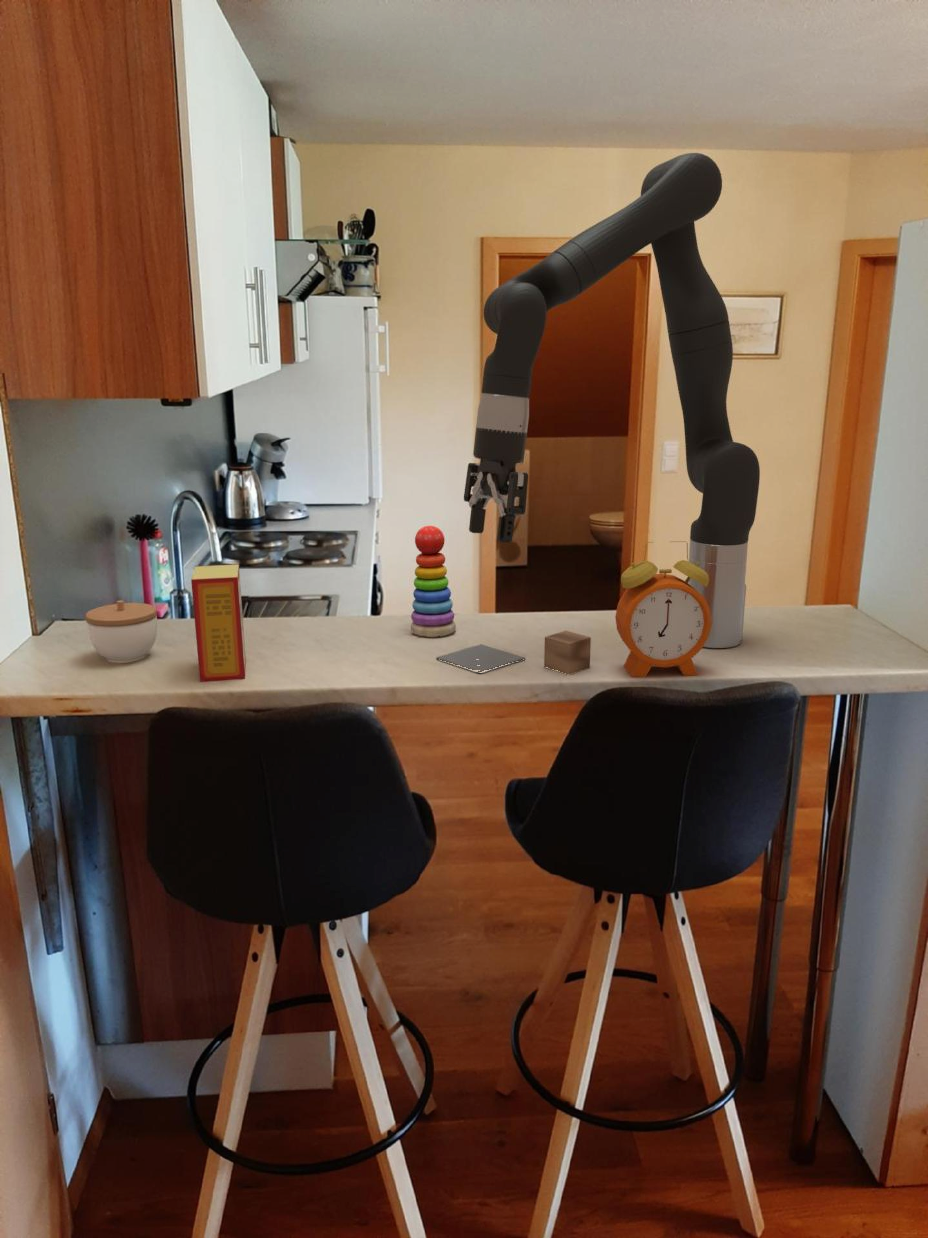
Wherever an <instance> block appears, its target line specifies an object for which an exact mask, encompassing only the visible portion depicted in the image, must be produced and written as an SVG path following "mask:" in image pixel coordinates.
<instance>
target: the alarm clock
mask: <svg viewBox="0 0 928 1238" xmlns="http://www.w3.org/2000/svg"><path fill="white" fill-rule="evenodd" d="M648 543H653V541H647V542H646V543H645V547H644V548H645V549H644V558H643V560H642V561H638V562H635V563H634V562H632V563H630V566H628V568H626V570H624V571H623V573H622V574H621V578H620V581H621V582H620V583H621V586H622V588H623V589H625V591H623V593H622V596H621V597H620V599H619V601H618V603H617V607H616V611H615V616H614V617H615V625H616V630H617V632H618V634H619V637H620V639H621V641H622V642H623V644H624V645H625V646H626V647H627V648H628V650H629V654H628V656H627V658H626V659H625V662H624V664H623V667H624V668H625V670H626V671H627V672H628V674H629V675H630V676H631V677H632V678H637V677H641V678H642V677H643V678H645V677H647V675H648V673H649V672H650V671H651V669H652V667H657V668H672V667H676V669H678V670H679V672H680V673H681V674H682V675H683V676H697V675H698V672H697V670H696V668H695V665H694V662H693V660H692V659H693V658H694V657H695V656H696V655H697V654H699V652H700V651H701V650H702V649H703V648H704V647H703V646H704V644H705V642H706V641H707V639H708V637H709V633H710V628H711V614H710V609H709V607H708V605H707V603H706V600H705V599H704V598H703V596H702V595H701V594H700V593H699V592H698V591H697V590H696V589H694V588H693V587H692V586H691V585H689V584H688V582H689V580H690V579H693V580H695V581H697V582H698V583H700V584H702V585H704V586H706V587H707V585H708V582H709V576H708V574H707V573H706V572H705V571H704V570H702V569H701V568H699V567H698V566H699V564H700V562H698V561H697V563H696V565H694V564H695V563H694V564H692V563H693V562H692V563H691V562H689V561H690V560H689V549H688V548H689V546H688V542H687V541H686V540H683V541H682V540H680V541H678V540H677V541H676V540H675V541H673V540H672V541H670V543H686V559H687V560H684V559H683V560H682V559H681V560H679V561H677V562H676V563H675V564H674V565H672V567H673V568H674V569H675V570H677V571H678V572H680V574H681V573H682V574H683V575H684V576H687V577H686V579H681V578H680V577H678V576H676V575H673V574H672V573H673V571H672V569H671V568H665V569H664V568H661V569H658V567H657V566H656V565H655V564H654V562H651V561H649V560H646V554H647V553H646V552H647V545H648ZM658 571H659V573H658Z"/></svg>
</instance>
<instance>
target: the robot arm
mask: <svg viewBox="0 0 928 1238" xmlns="http://www.w3.org/2000/svg"><path fill="white" fill-rule="evenodd" d="M722 177H723V176H722V173H721V170H720V168H719V166H718V165H717V163H716V162H715V161H714V160H713V159H712V158H711V157H709V156H708V155H705V154H703V153H699V152H689V153H688V152H687V153H683V154H681V155H678V156H675V157H673V158H671V159H668V160H666V161H664V162H662V163H660V164H657V165H656V166H654V167H653V168H652V169H651V170H649V171H648V173H647V174H646V175H645V177H644V179H643V181H642V184H641V188H640V196H639V197H637V199H635V200H633V201H632V202H630V203H629V204H628V205H626V206H625V207H624V208H622V209H620V210H618V211H616V212H615V213H613V214H612V215H610V216H608V217H606V218H604V219H602V220H600V221H599V222H597V223H595V224H594V225H592V226H590V227H589V228H587V229H585V230H584V231H581V232H580V233H579V234H577V235H576V236H574V237H573V238H571V239H569V240H567V242H565V243H564V244H562V245H560V246H559V247H558V248H557V249H555V250H554V251H552V252H551V253H550V254H548V255H547V256H546V257H545V258H544V259H542V260H541V261H540V262H538V263H537V264H536V265H534V266H532V267H530V268H528V269H527V270H524V271H522V272H520V273H519V274H517V275H516V276H514V277H512V278H510V279H509V280H507V281H506V282H504V283H501V285H499V286H498V287H497V288H495V289H493V290H492V292H490V294H489V295H488V297H487V299H486V300H485V303H484V305H483V320H484V322H485V324H486V327H487V328H488V329H489V331H491V332H492V333H494V334H496V340H495V344H494V348H493V350H492V352H491V353H490V354H489V355H488V356H487V357H486V359H485V363H484V365H483V366H484V367H483V373H482V374H483V375H482V386H481V393H480V399H479V403H478V406H477V407H478V408H477V416H476V423H475V434H474V443H473V454H472V455H473V457H475V459H478V460H480V462H479V463H478V462H469V463H468V464H467V471H466V478H465V484H464V485H465V486H464V492H463V502H466V503H467V502H468V507H469V508H470V517H469V526H468V531H469V532H470V533H472V534H482V533H484V530H485V522H486V513H487V512H486V511H487V509H485V508H486V507H487V505H488V503H489V501H490V500H491V499H493V502H494V503H495V504H496V505H497V508H498V512H499V517H498V524H497V533H496V540H497V542H499V543H507V544H509V543H511V542H512V541H513V536H514V527H515V520H516V518H517V517H518V516H520V515H521V516H522V515H525V514H526V508H527V498H528V497H527V496H528V485H529V473H527V472H522V471H520V472H519V471H516V466H517V464H519V463H523V462H524V460H525V453H526V446H527V445H526V444H527V437H528V426H529V418H530V395H531V387H532V386H531V385H532V377H533V367H534V363H535V361H536V359H537V356H538V353H539V350H540V349H539V348H540V346H541V343H542V339H543V336H544V333H545V328H546V324H547V323H546V322H547V312H549V310H551V309H553V308H556V307H557V306H561V305H563V304H567V303H568V302H570V301H572V300H574V299H576V298H577V297H578V296H580V295H581V294H583V293H584V292H585V291H586V290H588V289H589V288H591V287H592V286H594V285H595V284H597V283H598V282H599V281H601V280H602V279H603V278H605V277H606V276H608V275H609V274H610V273H611V272H613V271H614V270H615V269H616V268H619V266H620V265H621V264H623V263H625V262H626V261H627V260H629V259H630V258H631V257H633V256H634V255H635V254H637V253H638V252H639V251H641V250H642V249H643V250H644V248H645V247H647V246H649V245H650V244H651V249H652V252H653V256H654V260H655V263H656V269H657V273H658V279H659V280H658V281H659V285H660V291H661V292H660V293H661V297H662V301H663V307H664V314H665V318H666V327H667V329H666V330H667V334H668V341H669V342H668V343H669V348H670V354H671V359H672V362H673V363H672V364H673V368H674V373H675V379H676V386H677V391H678V396H679V401H680V406H681V412H682V417H683V418H682V419H683V427H684V428H683V429H684V441H685V442H684V443H685V445H684V446H685V462H686V464H685V465H686V471H687V472H686V473H687V476H688V479H689V481H690V484H692V486H693V487H694V488H695V489H696V491H698V492H699V493H702V498H701V509H700V514H699V515H698V518H697V519H695V520H694V521H693V522H691V525H690V533H689V547H688V548H689V549H688V561H689V560H690V561H689V562H691V563H692V562H693V563H692V564H694V563H695V564H694V565H696V563H697V561H698V562H700V564H699V566H698V567H699V568H701V569H702V570H704V571H705V572H706V573H707V574H708V576H709V582H708V585H707V587H706V586H704V585H702V584H700V583H698V582H697V581H695V580H693V579H690V580H689V582H688V584H689V585H691V586H692V587H693V588H694V589H696V590H697V591H698V592H699V593H700V594H701V595H702V596H703V598H704V599H705V600H706V603H707V605H708V607H709V609H710V614H711V628H710V633H709V637H708V639H707V641H706V642H705V644H704V646H703V647H702V648H710V649H724V648H726V649H727V648H733V647H736V646H739V644H740V643H741V640H742V639H743V634H744V633H743V632H744V622H745V608H746V607H745V606H746V595H747V584H746V574H747V560H748V559H747V557H748V549H749V548H748V547H749V545H748V544H749V536H750V531H751V529H752V527H753V525H754V523H755V519H756V515H757V514H756V513H757V506H758V505H757V504H758V497H759V496H758V495H759V489H760V488H759V487H760V475H761V474H760V473H761V471H760V462H759V459H758V457H757V454H756V453H755V451H754V450H753V449H752V448H751V447H749V446H747V445H746V444H743V443H740V442H736V441H734V439H733V436H732V431H731V425H730V422H729V418H728V409H727V397H728V388H729V384H730V383H729V382H730V379H731V378H730V377H731V375H732V374H731V373H732V369H733V368H732V367H733V357H734V354H733V353H734V349H733V340H732V339H733V338H732V331H731V326H730V321H729V314H728V310H727V306H726V304H725V302H724V300H723V297H722V295H721V293H720V292H719V290H718V288H717V286H716V284H715V283H714V282H713V281H714V280H712V278H711V276H710V274H709V272H708V271H707V269H706V267H705V265H704V263H703V261H702V257H701V255H700V251H699V247H698V240H697V233H696V226H695V225H696V224H695V222H697V221H699V220H701V219H702V218H705V216H707V215H708V214H709V213H711V212H712V210H713V209H714V208H715V206H716V205H717V203H718V202H719V199H720V197H721V193H722V189H723V179H722ZM471 492H472V493H471ZM517 501H518V505H517Z"/></svg>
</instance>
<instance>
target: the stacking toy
mask: <svg viewBox="0 0 928 1238" xmlns="http://www.w3.org/2000/svg"><path fill="white" fill-rule="evenodd" d="M414 544H415V547H416V548H417V550H418V551H419V552H420V553H419V554H417V556H416V557H415V563H416V564H417V567H415V569H414V575H415V576H416V577H415V578H414V580H413V586H414V587H415V589H414V590H413V598H414V600H413V601H412V609H413V611H412V612H411V616H410V617H411V618H410V619H411V620H412V622H411V623H410V630H411V632H412V633H414V634H415V635H416V636H421V637H425V636H426V638H436V637H438V636H440V637H444V636H445V637H446V636H449V635H450V634H452V633H453V632H455V630H456V627H457V625H456V622H455V621H454V619H455V613H454V611H453V610H452V609H453V605H454V603H453V601H452V599H451V596H452V592H451V589H450V588H449V587H448V586H449V579H448V577H447V576H446V575H447V572H448V570H447V568H446V566H445V565H444V564H445V562H446V557H445V555H444V554H443V553H441V552H442V549H443V548H444V545H445V534H444V533H443V532H442V530H441V529H440V528H439V527H437V526H435V525H424V526H422V527H421V528H419V530H418V531H417V532H416V534H415V536H414ZM438 638H439V637H438Z"/></svg>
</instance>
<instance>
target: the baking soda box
mask: <svg viewBox="0 0 928 1238" xmlns="http://www.w3.org/2000/svg"><path fill="white" fill-rule="evenodd" d="M240 574H241V573H240V564H239V563H237V564H236V563H234V564H217V565H216V564H214V565H213V564H212V565H195V566H194V569H193V574H192V577H191V579H190V581H191V591H192V592H191V593H192V604H193V616H194V628H195V629H194V630H195V638H196V639H195V640H196V651H197V661H198V673H199V682H200V683H206V682H221V681H235V680H245V679H246V668H247V667H246V664H247V656H246V643H245V632H244V631H245V630H244V629H245V627H244V615H243V602H242V591H241V590H242V589H241V588H242V587H241V577H240V576H241V575H240Z"/></svg>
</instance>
